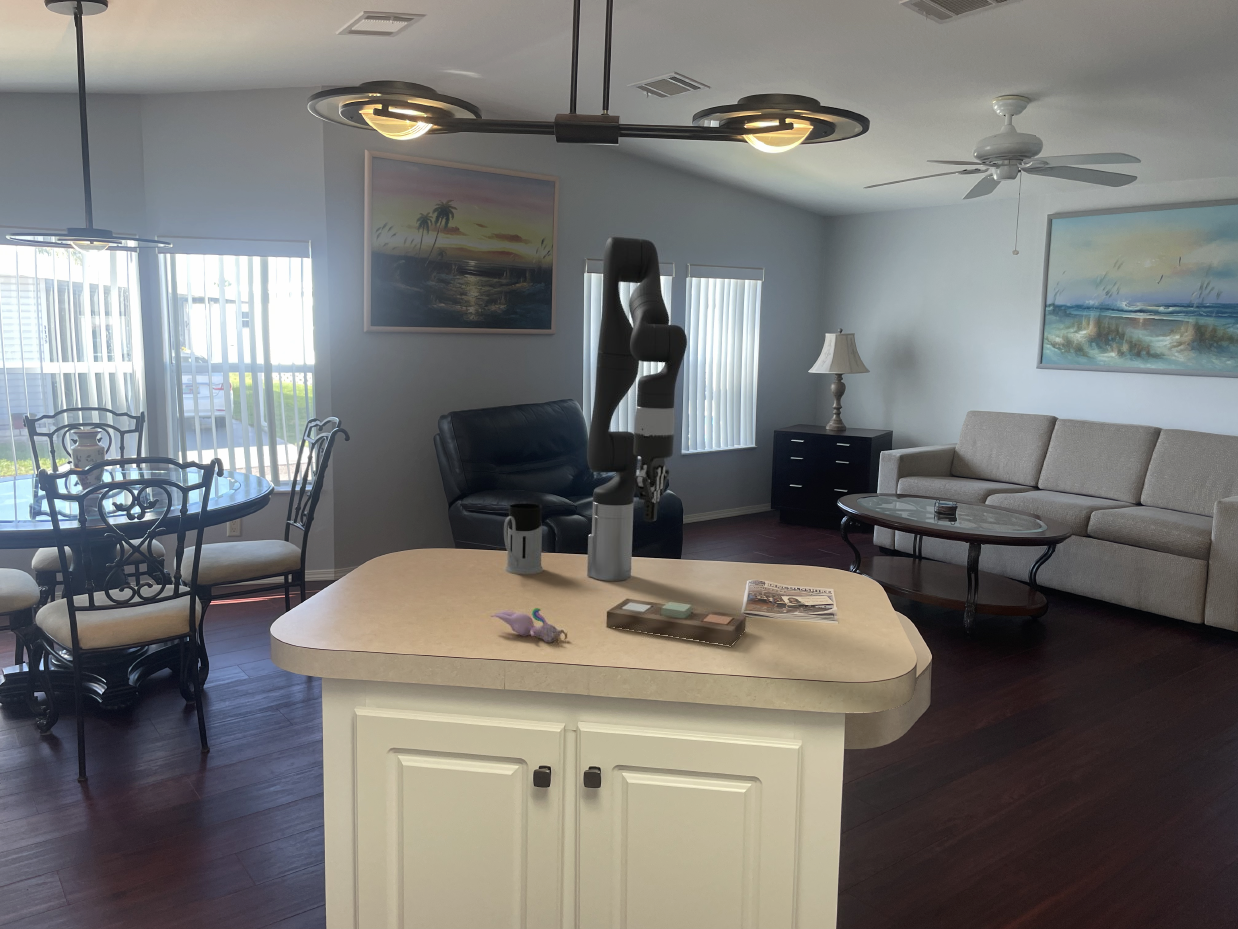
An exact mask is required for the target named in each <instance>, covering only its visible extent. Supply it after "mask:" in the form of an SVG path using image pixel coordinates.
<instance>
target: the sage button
mask: <svg viewBox="0 0 1238 929" xmlns="http://www.w3.org/2000/svg"><path fill="white" fill-rule="evenodd" d="M665 604H666V605H665V606H663V607H662V613H661V616H667V617H674V618H681V619H686V618H687V617H688V616H689V615H691V610H692V608H693V607H692V604H686V603H679V602H673V601H669V602H668V603H665Z"/></svg>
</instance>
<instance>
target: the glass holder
mask: <svg viewBox="0 0 1238 929" xmlns="http://www.w3.org/2000/svg"><path fill="white" fill-rule="evenodd" d="M542 506H543V505H541V504H538V503H527V502H526V503H525V502H524V503H523V502H520V503H513V504H509V506H508V516H507V518H505V520H504V523H503V539H504V540H503V541H504V544H505V545H504V546H505V548H506V551H507V553H506V555H507V558H506V559H507V560H506V561H507V562H506V566H505V569H504V570H505V572H507V573H510V574H514V573H515V575H516V574H517V575H534V574H535V575H536V574H539V573H541V572H543V570H544V568H543V566H542V543H543V542H542V540H543V539H542V538H543V537H542V536H543V525H542V524H543V523H542V509H543V508H542Z"/></svg>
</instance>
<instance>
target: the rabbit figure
mask: <svg viewBox="0 0 1238 929" xmlns="http://www.w3.org/2000/svg"><path fill="white" fill-rule="evenodd" d="M540 611H541V609H540V608H539V607H535V608H534V609H532V613H531V615H532V617H531V616H530V615H529V614H528V613H525V612H516V611H515V612H514V611H512V610H501V611H500V610H499V611H497V612H496V613H494V614H491V615H490V617H491V618H494V617H495V618H498V619H499V620H500V621H503V622H504V623H506V624H507V625H508V626H510V628H511V630H512V631H513V632H514V633H516V634H518V635H520V636H522V637H527V636H529V635H531V636H532V637H534V636H535V637H538V638H540V637H541V638H542V640H543V641H544V642H545V643H548V644H549V643H553V642H554V641H556V640H558V641H557V644H558V646H559V645H560V643H561V639H562V638H561V637H562V636H561V635H562V634H564V639H563V640H564V641H565V642H566V641H567V640H568V632H566V631H565V630H564V629H557V627H556V626H555V625H553V624H551V623H548V622H547V621H546V618H545V617H544V616H543V615H542V614H540ZM533 619H534V620H535V621H537V622H541V623H542V625H535V622H534V620H533Z"/></svg>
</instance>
